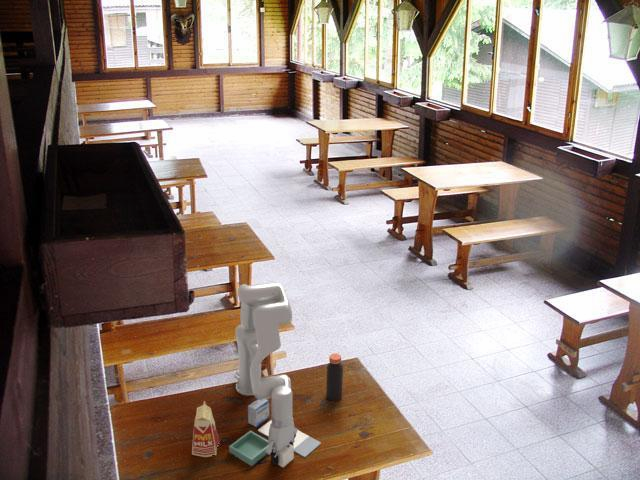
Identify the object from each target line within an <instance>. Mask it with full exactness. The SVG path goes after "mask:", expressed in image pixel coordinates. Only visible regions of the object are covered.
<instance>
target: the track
mask: <svg viewBox="0 0 640 480" xmlns="http://www.w3.org/2000/svg"><path fill="white" fill-rule="evenodd" d="M271 423H272V419H270V420H269V421H268V422H267V423H265V424H263V425H262V426H261V427H260V428H258V430H257V431H258V432H259V433H261V434H263V435H264V436H266V437H269V428H270V424H271ZM294 440H295V442H294V443H293V446H294V453H295V454H297V455H299V456H301V457H302V458H306V457H308V456H309V455H310V454H311V453H312V452H313V451H315V450H316V449H318V447H319V446H320V445H322V442H321V441H319V440H317V439H315V438H313V437H311V436H310V435H308V434H306V433H304V432H302V431H300V430H299V429H298V430H297V433H296V437H295V439H294Z"/></svg>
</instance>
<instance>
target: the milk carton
mask: <svg viewBox="0 0 640 480" xmlns="http://www.w3.org/2000/svg"><path fill="white" fill-rule="evenodd" d="M219 442H220V437H219V434H218V431H217V428H216V421H215V419H214V415H213V412H212V408H211V407H210V406H208V405H207V404H206V401H205V400H204V401H203V404H202V405H200V406H198V407H196V415H195V418H194V423H193V433H192V445H191V446H192V447H191V455H193V456H197V457H202V458H208V457H213V456H212V455H215V456H217V455H218V453H217V452H218V448H217V447H219V445H220V443H221V442H220V443H219ZM218 444H219V445H218Z"/></svg>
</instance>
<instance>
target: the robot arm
mask: <svg viewBox="0 0 640 480" xmlns="http://www.w3.org/2000/svg"><path fill="white" fill-rule="evenodd" d="M237 297H238V299H239V301H240V315H239V316H240V318H239V319H240V323H241V324H239V325H237V326H236V328H235V331H234V333H235V340H236V345H237V353H238V354H237V356H238V370H236V372H235V374H234V375H233V378H234V379H236V380H237V382H236V384H235V390H236V392H237V393H238V394H241V395H242V396H247V397H249V396H250V397H251V396H254V398H255V399H256V400H257V399H259V400H262V399H267V400H269V399H271V400H270V401H271V420H272V423H271V424H270V428H269V437H268V436H267V437H268V439H267V440H268V448H267V450H266V453H268V454H267V455H269V456H270V462H271V463H272V464H274V465H275V466H279V465H278V456H277V455H278V452H279V450H281V449H282V448H283V447H284V446H286V445H287V444H288V443H289V444H291V445H293V443H294V442H295V440H294V439H295V437H296V433H297V430H299V429H298V427H296V426H295V423H294V418H293V397H294V395H293V390H292V381H291V378H290V377H289V376H288V375H287V374H286V373H285V374H284V373H283V374H277V375H271V376H266V377H262V362H263V360H264V359H266V358H267V357H268V356H269V355H271V354H272V353H274V352H276V351H277V350H279V349H280V348H281V346H282V343H281V338H280V337H281V335H280V332H279V325H287V324H289V323H291V322H292V319H293V311H292V307H291V304H290V301H289V299H288V296H287V294H286V291H285V288H284V286H283V285H282V284H281V283H280V282H267V283H259V284H258V283H257V284H252V285H248V284H245V283H243V284H241V285H239V286H238V288H237ZM274 449H275V450H276V452H275V453H274V452H273V450H274Z"/></svg>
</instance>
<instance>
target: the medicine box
mask: <svg viewBox="0 0 640 480" xmlns="http://www.w3.org/2000/svg"><path fill="white" fill-rule="evenodd" d="M269 401H270V400H269V399H262V400H259V399H257V398H256V400H254V401H253V402H251V403H250V404H249V405H247V417H248V424H249V425H251V426H253V427H256V428H258V427H259V426H260V425H262V424H263V423H264V422H265V421H267V420H268V419H269V418H270V402H269Z"/></svg>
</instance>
